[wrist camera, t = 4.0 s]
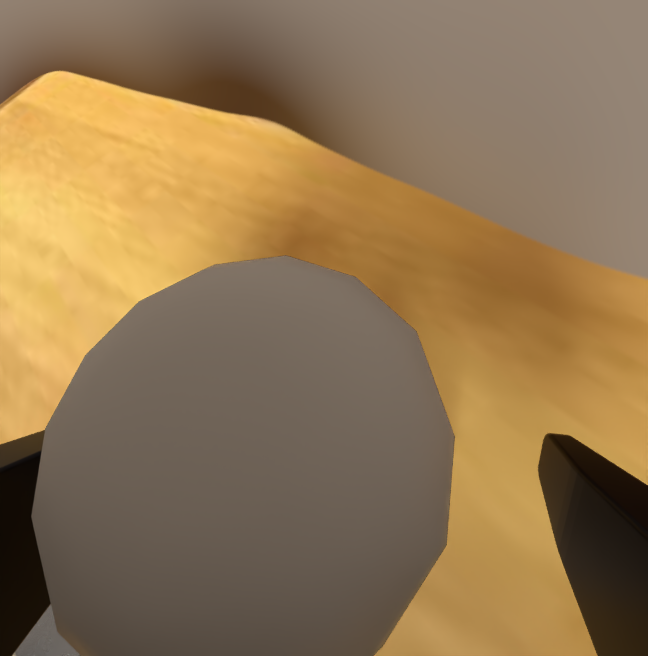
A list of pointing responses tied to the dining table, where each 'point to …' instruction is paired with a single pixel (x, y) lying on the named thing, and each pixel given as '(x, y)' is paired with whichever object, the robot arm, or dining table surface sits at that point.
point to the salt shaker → (245, 471)
